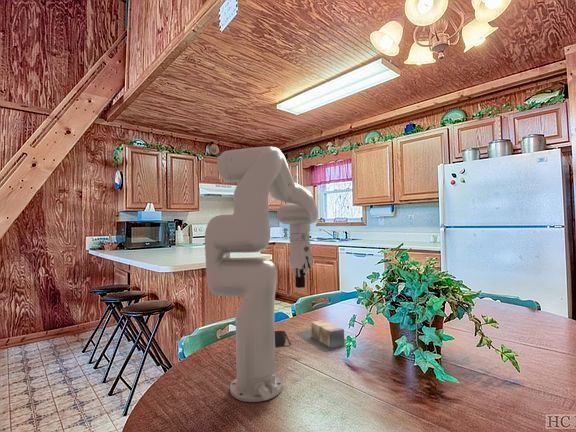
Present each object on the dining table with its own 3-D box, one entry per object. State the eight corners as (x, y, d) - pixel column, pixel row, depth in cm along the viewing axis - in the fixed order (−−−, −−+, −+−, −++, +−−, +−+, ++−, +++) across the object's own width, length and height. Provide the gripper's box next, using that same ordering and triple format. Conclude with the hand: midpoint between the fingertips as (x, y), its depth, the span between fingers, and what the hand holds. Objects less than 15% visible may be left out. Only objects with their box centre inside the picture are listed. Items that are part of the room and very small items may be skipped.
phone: (284, 330, 117) (291, 345, 102) (284, 333, 117) (291, 348, 102) (262, 332, 115) (267, 347, 101) (262, 335, 115) (267, 350, 101)
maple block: (323, 334, 112) (344, 344, 102) (311, 336, 110) (331, 347, 99) (323, 319, 112) (343, 329, 102) (311, 322, 110) (331, 331, 99)
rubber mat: (355, 346, 102) (355, 344, 102) (324, 353, 96) (324, 351, 96) (321, 328, 120) (321, 327, 120) (293, 334, 114) (293, 332, 114)
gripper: (318, 238, 115) (319, 289, 113) (298, 238, 128) (299, 284, 127) (300, 238, 111) (301, 291, 110) (282, 238, 125) (282, 285, 123)
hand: (300, 287), depth 118 cm, fingers closed
